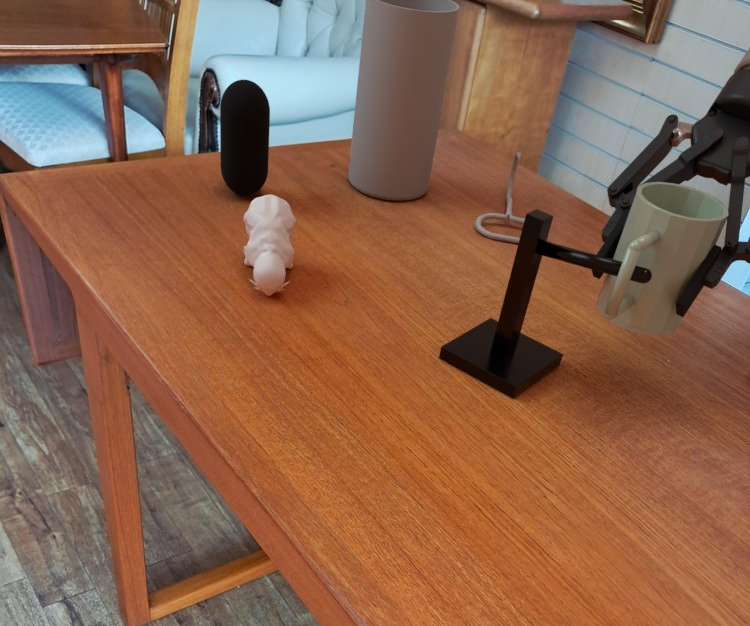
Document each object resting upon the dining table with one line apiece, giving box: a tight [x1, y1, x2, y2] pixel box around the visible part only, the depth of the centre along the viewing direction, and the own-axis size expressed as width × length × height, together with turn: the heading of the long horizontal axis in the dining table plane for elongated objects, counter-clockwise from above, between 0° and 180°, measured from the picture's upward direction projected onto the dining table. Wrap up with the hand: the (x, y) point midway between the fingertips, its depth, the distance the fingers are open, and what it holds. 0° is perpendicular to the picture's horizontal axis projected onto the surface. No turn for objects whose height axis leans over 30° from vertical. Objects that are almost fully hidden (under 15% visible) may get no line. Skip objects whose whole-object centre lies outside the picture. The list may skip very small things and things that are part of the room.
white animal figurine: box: [243, 193, 297, 297], centre depth 93 cm, size 6×8×12 cm
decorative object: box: [219, 79, 271, 197], centre depth 108 cm, size 7×7×15 cm
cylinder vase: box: [347, 0, 460, 202], centre depth 114 cm, size 12×12×25 cm
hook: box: [474, 151, 525, 245], centre depth 118 cm, size 7×9×20 cm
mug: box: [596, 182, 729, 337], centre depth 77 cm, size 13×9×12 cm, turn 140°
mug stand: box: [438, 208, 652, 399], centre depth 81 cm, size 18×10×17 cm, turn 50°
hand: (636, 290), depth 78 cm, fingers closed on mug, 9 cm apart
